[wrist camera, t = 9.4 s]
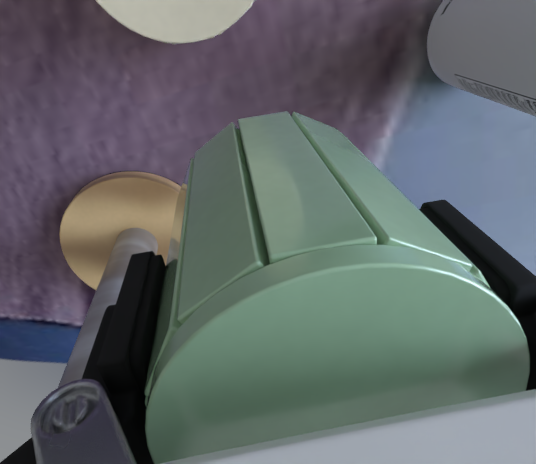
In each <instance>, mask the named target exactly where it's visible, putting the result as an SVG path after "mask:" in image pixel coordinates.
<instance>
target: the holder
mask: <svg viewBox="0 0 536 464" xmlns="http://www.w3.org/2000/svg"><path fill="white" fill-rule="evenodd" d="M180 189H181V186H179V185H178V184H176V183H174V182H172V181H171V180H169V179H166V178H164V177H161V176H158V175H155V174H151V173H145V172H138V171H126V172H117V173H112V174H108V175H105V176H103V177H100V178H98V179H96V180H94V181H92V182H90V183H89V184H87V185H86V186H85V187H83V188H82V189H81V190H80V191H79V192H78V193H77V194H76V196H75V197H74V198H73V200H72V201H71V203H70V204H69V206H68V207H67V209H66V211H65V213H64V215H63V217H62V221H61V224H60V244H61V248H62V252H63V254H64V257H65V259H66V261H67V263H68V265H69V266H70V267H71V269H72V270H73V271H74V273H75V274H76V275H77V276H78V277H79V278H80V279H81V280H82V281H83V282H85V283H86V284H87V285H89V286H90V287H92V288H93V289H95V290H96V292H95V295H94V298H93V300H92V303H91V305H90V308H89V310H88V313H87V315H86V318H85V320H84V323H83V325H82V328H81V330H80V333H79V335H78V338H77V340H76V343H75V346H74V348H73V351H72V353H71V356H70V358H69V361H68V363H67V366H66V368H65V371H64V374H63V376H62V379H61V381H60V383H59V386H58V388H59V387H60V386H62V385H64V384H67V383H69V382H71V381H74V380H80V379H82V376H83V373H84V370H85V367H86V364H87V362H88V359H89V356H90V353H91V350H92V347H93V344H94V341H95V338H96V335H97V333H98V330H99V327H100V324H101V321H102V318H103V315H104V312H105V310H106V308H107V307H108V306H109V305H115V304H116V302H117V299H118V296H119V292H120V289H121V286H122V283H123V280H124V277H125V273H126V270H127V267H128V264H129V261H130V258H131V255H132V254H137V253H143V252H148V251H153V252H154V253H155V255H162V257H163V259H164V262H165V266H166V262H167V256H168V250H169V245H170V239H171V233H172V227H173V221H174V215H175V209H176V203H177V198H178V195H179V192H180Z"/></svg>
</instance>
